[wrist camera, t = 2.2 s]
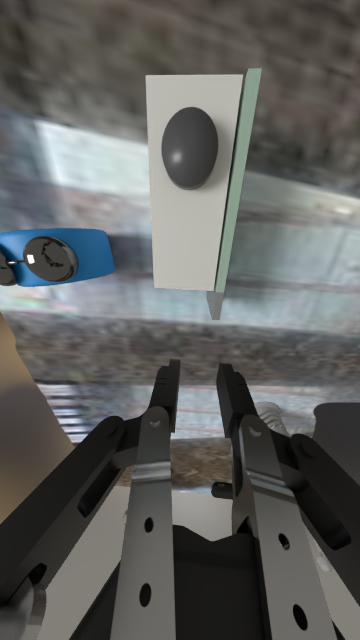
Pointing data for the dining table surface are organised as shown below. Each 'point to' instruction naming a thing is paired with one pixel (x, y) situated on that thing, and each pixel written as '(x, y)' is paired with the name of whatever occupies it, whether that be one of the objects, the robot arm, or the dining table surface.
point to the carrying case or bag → (222, 490)
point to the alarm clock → (53, 256)
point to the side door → (234, 186)
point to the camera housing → (189, 173)
